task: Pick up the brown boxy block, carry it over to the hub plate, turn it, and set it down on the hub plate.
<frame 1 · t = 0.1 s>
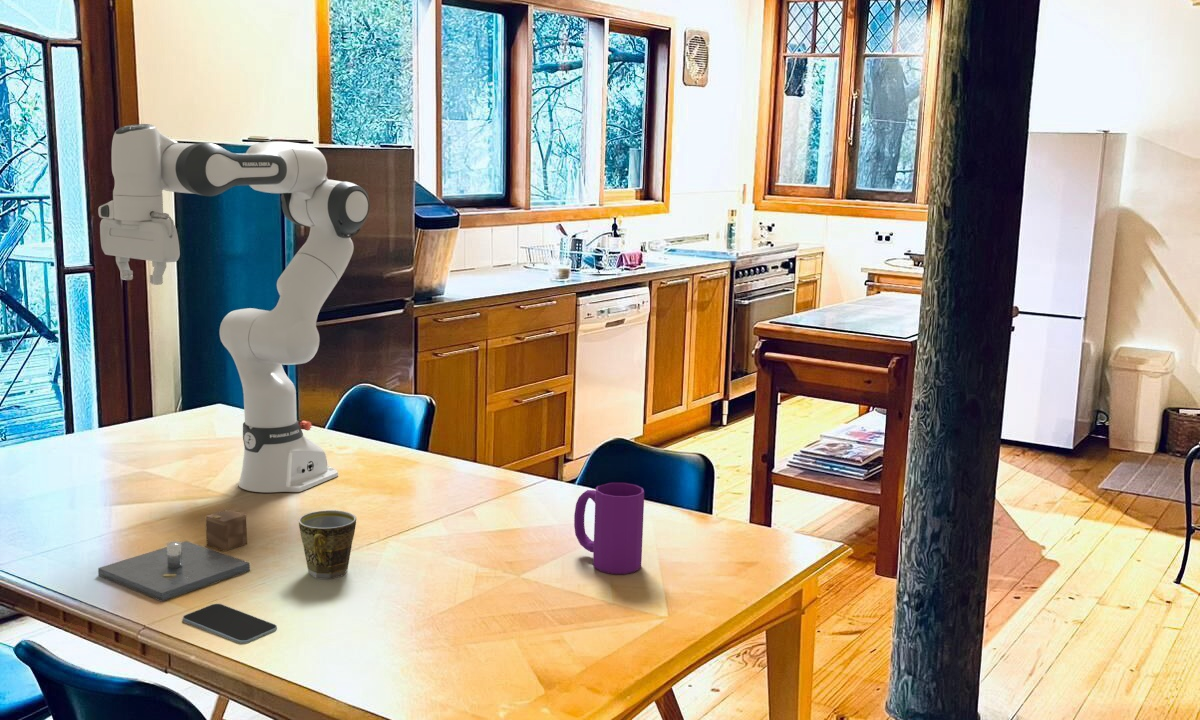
hand: (141, 282, 222), 48 cm above the table, fingers open, 8 cm apart
smartphone: (229, 627, 183), on the table
ceramic cup: (326, 576, 205), on the table
hub plate: (175, 573, 203), on the table
mug: (604, 563, 216), on the table
brown boxy block: (226, 544, 218), on the table
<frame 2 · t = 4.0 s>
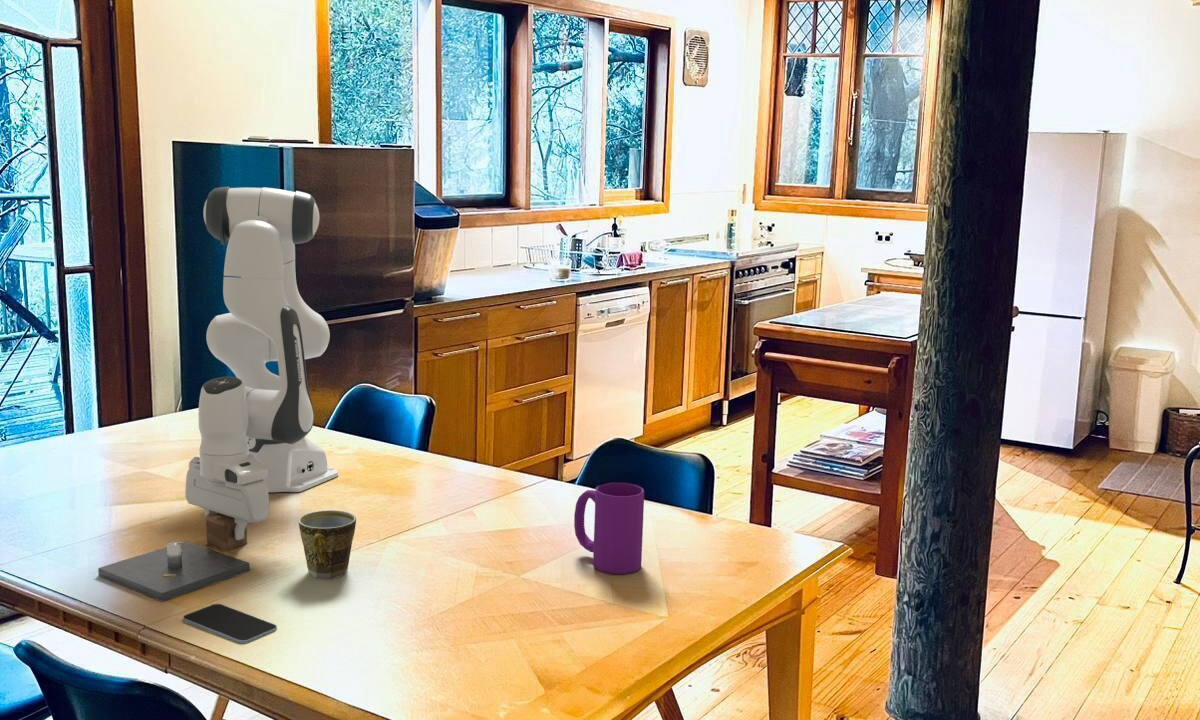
hand: (226, 534, 218), 2 cm above the table, fingers closed on brown boxy block, 5 cm apart
brown boxy block: (226, 544, 218), on the table, touching gripper
everything else where it was.
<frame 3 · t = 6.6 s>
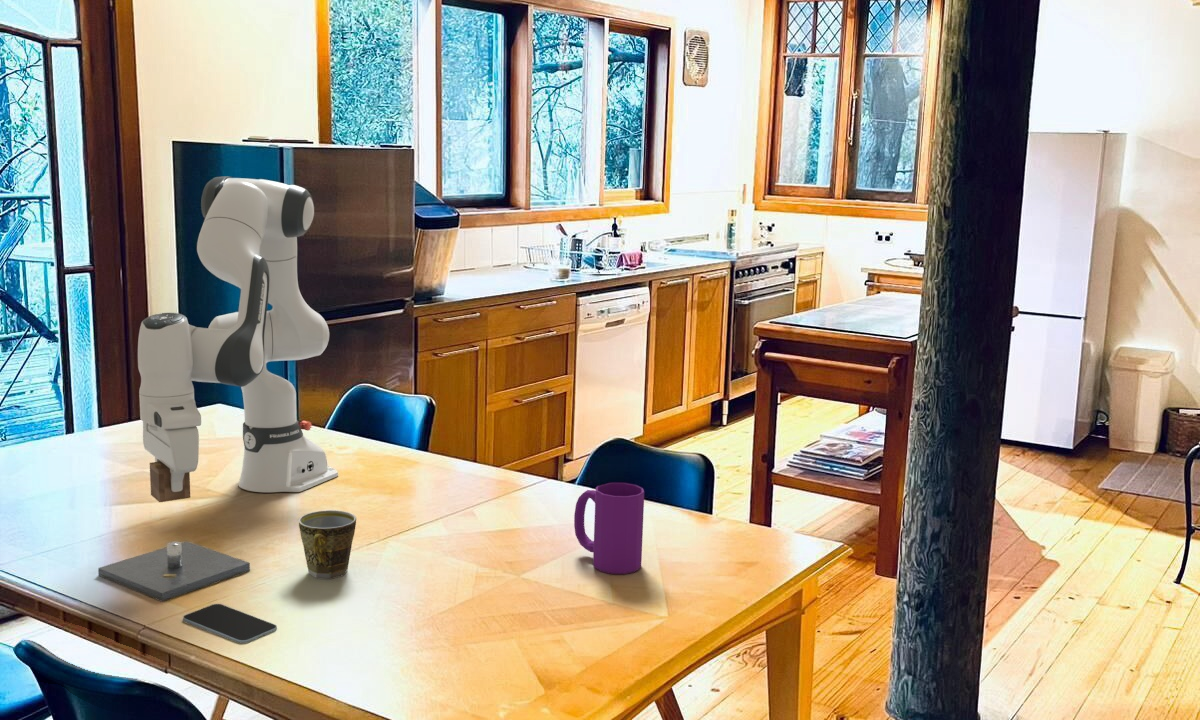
hand: (170, 486, 200), 16 cm above the table, fingers closed on brown boxy block, 5 cm apart
brown boxy block: (170, 496, 200), point 14 cm above the table, touching gripper
everything else where it was.
when the fingers open (4 cm above the table, at t = 9.4 s): brown boxy block stays where it is, resting on hub plate.
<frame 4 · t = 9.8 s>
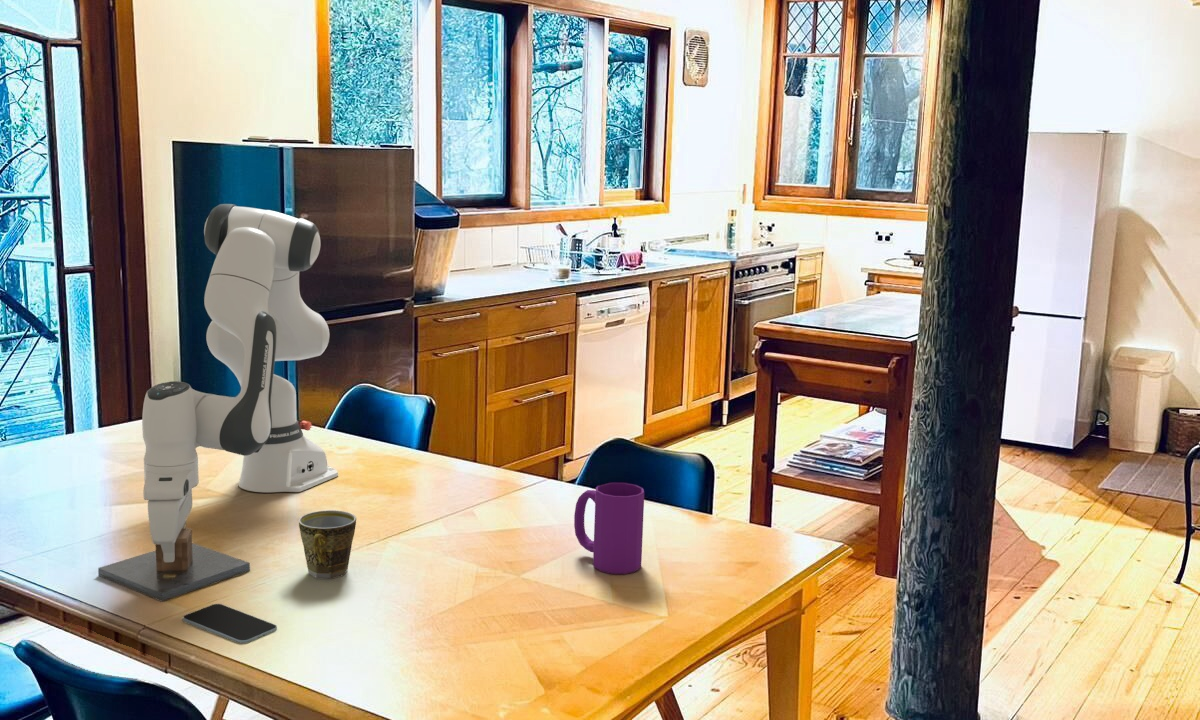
hand: (174, 551, 202), 4 cm above the table, fingers open, 8 cm apart
brown boxy block: (174, 565, 203), point 1 cm above the table, touching hub plate
everything else where it was.
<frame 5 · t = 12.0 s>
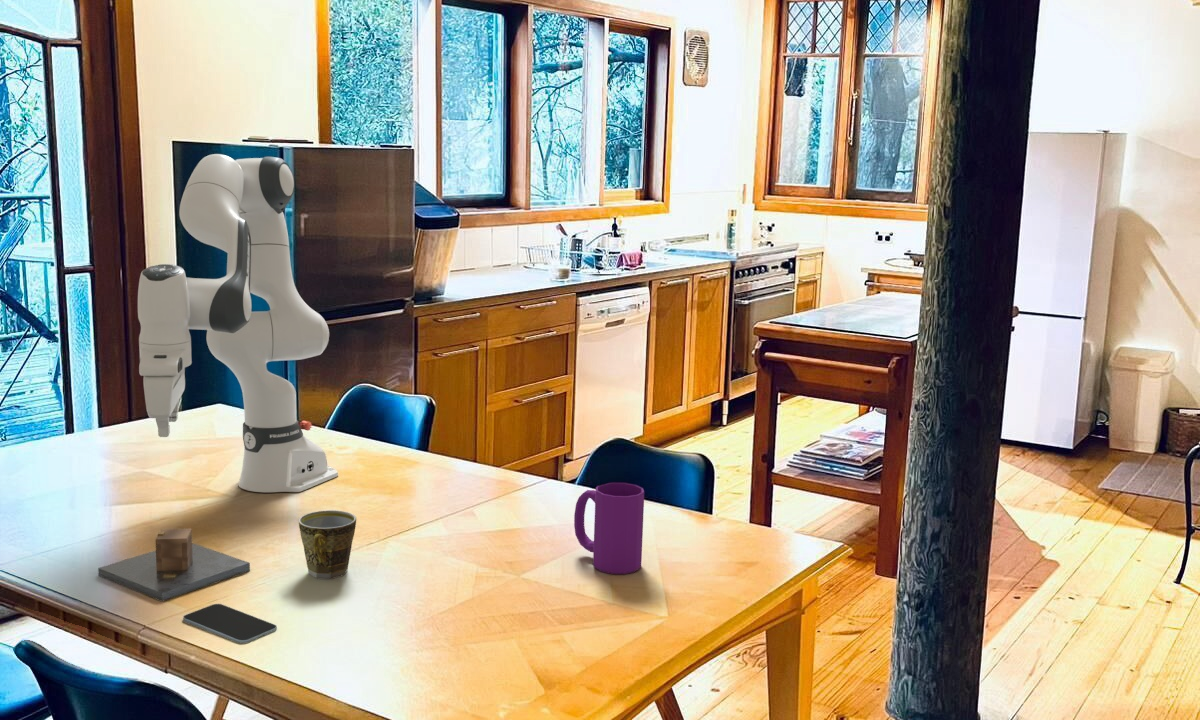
hand: (168, 428, 211), 23 cm above the table, fingers open, 8 cm apart
nothing on the table moved.
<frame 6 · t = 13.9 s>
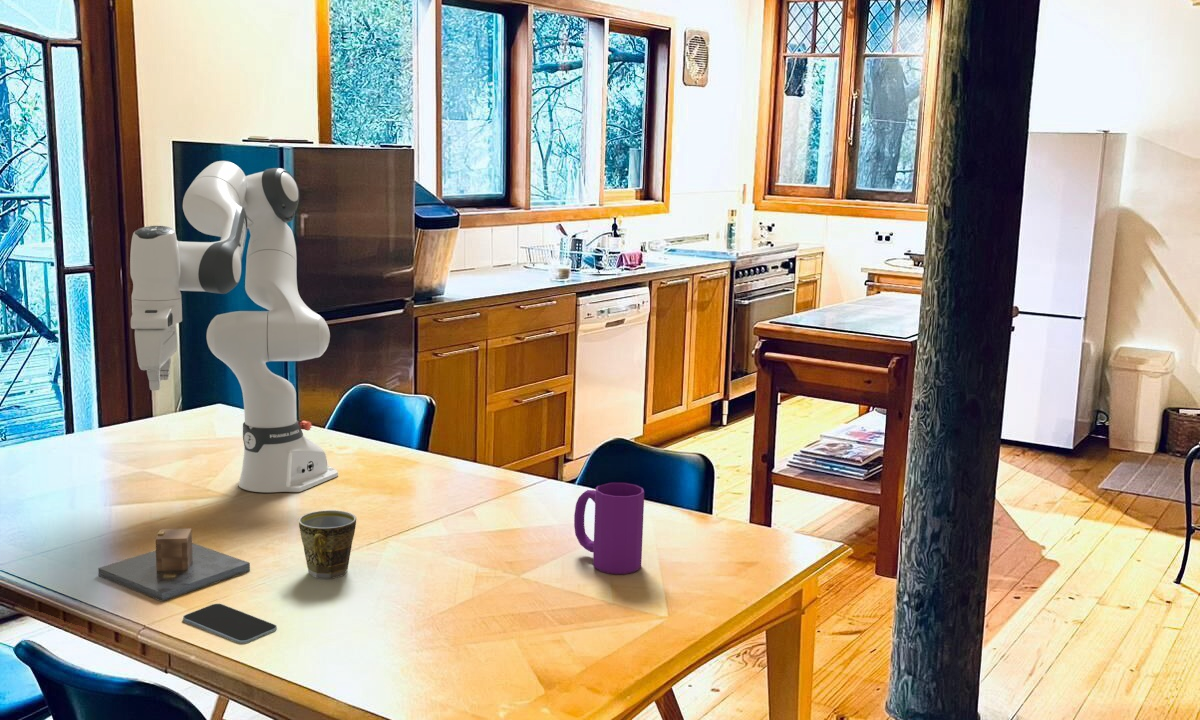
hand: (160, 384, 220), 29 cm above the table, fingers open, 8 cm apart
nothing on the table moved.
at the end: brown boxy block 0.1 cm off-centre on the hub plate, point 1.5 cm above the hub plate's base; brown boxy block tilted 0°; the gripper is holding nothing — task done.
